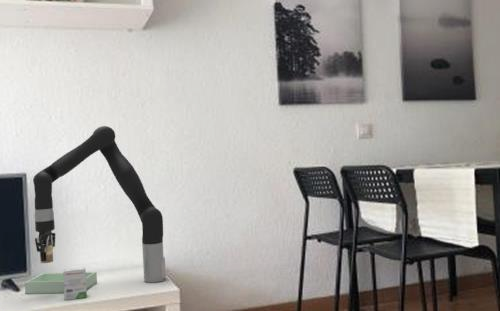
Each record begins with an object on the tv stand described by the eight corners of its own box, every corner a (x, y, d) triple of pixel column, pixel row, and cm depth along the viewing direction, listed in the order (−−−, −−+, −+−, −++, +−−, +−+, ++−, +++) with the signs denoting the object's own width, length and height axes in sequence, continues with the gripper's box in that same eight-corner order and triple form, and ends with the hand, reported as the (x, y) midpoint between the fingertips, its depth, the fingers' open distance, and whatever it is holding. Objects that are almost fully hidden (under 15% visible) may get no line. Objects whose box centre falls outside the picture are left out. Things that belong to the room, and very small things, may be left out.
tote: (97, 282, 232) (96, 272, 232) (82, 292, 216) (82, 280, 216) (43, 284, 234) (42, 273, 234) (25, 293, 219) (24, 282, 219)
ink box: (87, 294, 213) (85, 266, 213) (86, 297, 208) (85, 269, 208) (65, 297, 211) (64, 268, 210) (64, 300, 206) (63, 271, 206)
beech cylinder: (55, 260, 216) (54, 243, 216) (49, 262, 211) (48, 246, 211) (43, 260, 217) (42, 244, 217) (38, 263, 212) (37, 246, 212)
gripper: (45, 221, 207) (47, 263, 207) (60, 216, 221) (62, 255, 221) (27, 222, 207) (29, 263, 207) (43, 217, 221) (46, 256, 222)
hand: (46, 259), depth 214 cm, fingers closed on beech cylinder, 5 cm apart
